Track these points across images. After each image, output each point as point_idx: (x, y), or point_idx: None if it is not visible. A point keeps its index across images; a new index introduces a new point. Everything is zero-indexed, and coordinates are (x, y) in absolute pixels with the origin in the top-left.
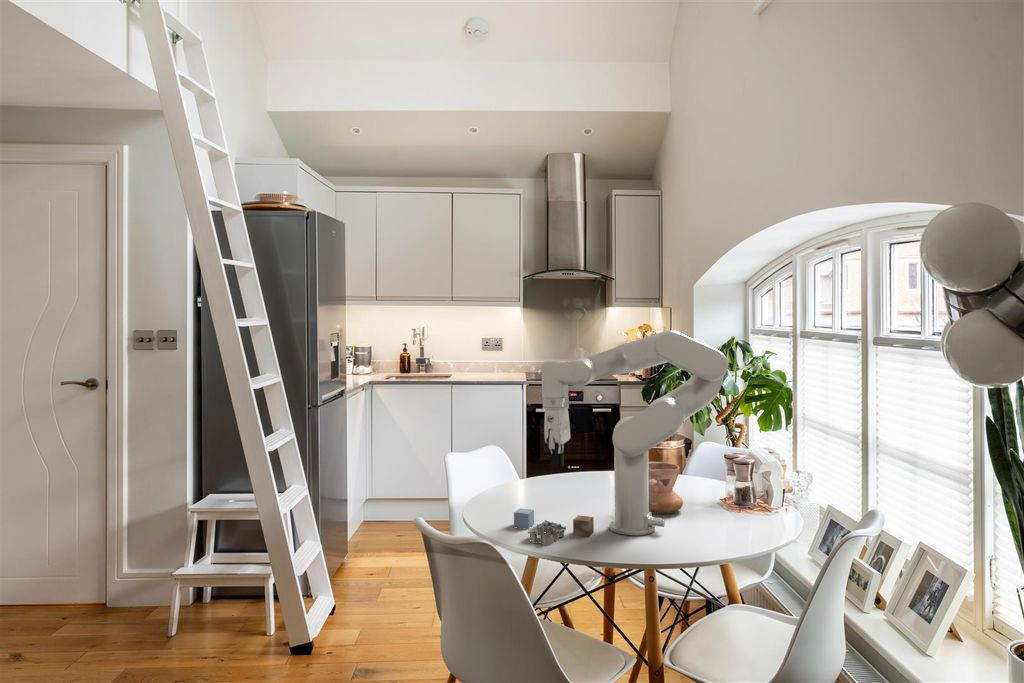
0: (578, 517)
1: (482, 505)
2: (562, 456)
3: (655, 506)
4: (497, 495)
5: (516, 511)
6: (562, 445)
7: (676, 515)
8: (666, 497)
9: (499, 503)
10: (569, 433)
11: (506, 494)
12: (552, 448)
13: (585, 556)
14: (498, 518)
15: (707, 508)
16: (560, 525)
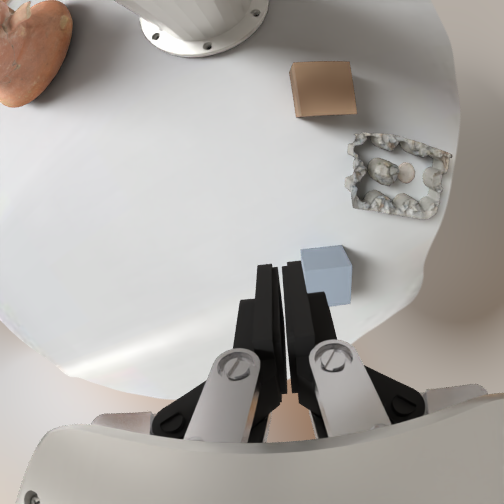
0: (325, 105)
1: None
2: (274, 316)
3: (69, 18)
4: (151, 383)
5: (340, 302)
6: (240, 416)
7: None
8: (38, 12)
9: (189, 369)
10: (52, 495)
11: (135, 374)
12: (480, 388)
13: (450, 57)
14: None
15: None
16: (356, 154)
